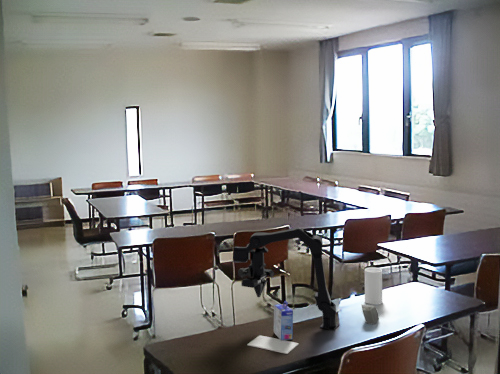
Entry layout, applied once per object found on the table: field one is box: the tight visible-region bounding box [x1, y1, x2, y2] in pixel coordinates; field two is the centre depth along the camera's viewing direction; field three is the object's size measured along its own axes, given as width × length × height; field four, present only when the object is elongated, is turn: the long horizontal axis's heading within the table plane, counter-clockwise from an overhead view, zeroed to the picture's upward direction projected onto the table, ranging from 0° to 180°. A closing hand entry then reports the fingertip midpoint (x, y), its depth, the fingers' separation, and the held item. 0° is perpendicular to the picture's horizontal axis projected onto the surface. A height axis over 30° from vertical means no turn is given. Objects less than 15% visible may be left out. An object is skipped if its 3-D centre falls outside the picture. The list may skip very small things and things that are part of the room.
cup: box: [364, 266, 383, 306], centre depth 257 cm, size 8×8×16 cm
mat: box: [246, 334, 299, 355], centre depth 213 cm, size 10×18×1 cm, turn 59°
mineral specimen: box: [361, 304, 380, 325], centre depth 232 cm, size 7×9×8 cm
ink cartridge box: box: [273, 300, 294, 341], centre depth 220 cm, size 10×6×14 cm, turn 15°
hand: (258, 296), depth 232 cm, fingers closed
